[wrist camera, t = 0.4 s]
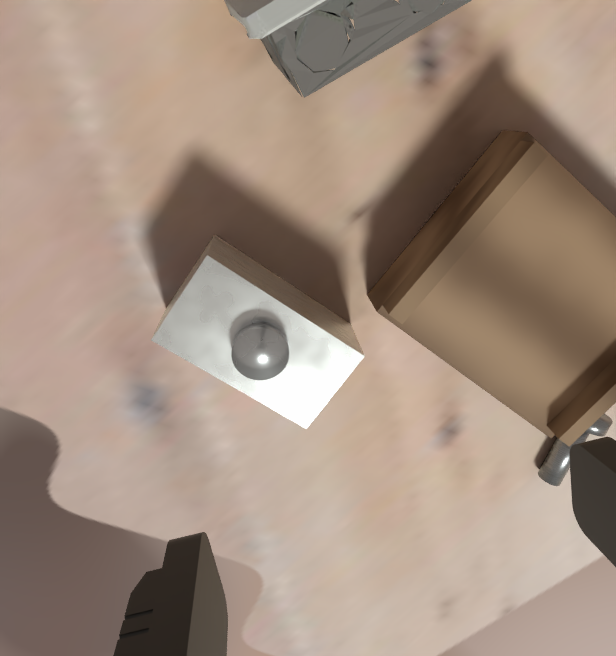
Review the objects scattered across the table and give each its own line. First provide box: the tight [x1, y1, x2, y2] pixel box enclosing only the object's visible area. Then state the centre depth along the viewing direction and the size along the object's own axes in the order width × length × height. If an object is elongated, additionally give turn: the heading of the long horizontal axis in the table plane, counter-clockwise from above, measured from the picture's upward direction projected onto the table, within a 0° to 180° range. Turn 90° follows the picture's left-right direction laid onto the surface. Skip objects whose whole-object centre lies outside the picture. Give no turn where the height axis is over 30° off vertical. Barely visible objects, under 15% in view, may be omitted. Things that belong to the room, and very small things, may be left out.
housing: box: [151, 235, 364, 429], centre depth 30 cm, size 6×10×6 cm, turn 54°
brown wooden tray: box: [367, 130, 616, 447], centre depth 32 cm, size 12×15×4 cm
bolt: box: [538, 414, 612, 486], centre depth 37 cm, size 6×3×3 cm, turn 162°
